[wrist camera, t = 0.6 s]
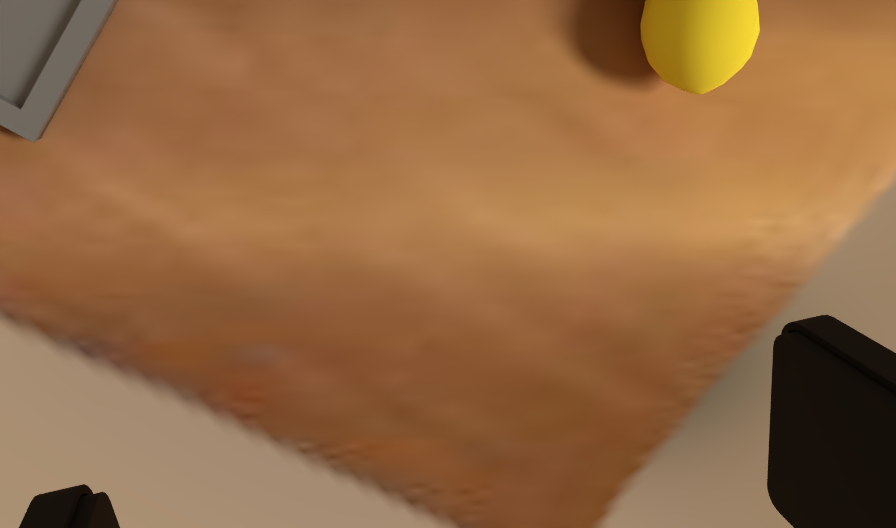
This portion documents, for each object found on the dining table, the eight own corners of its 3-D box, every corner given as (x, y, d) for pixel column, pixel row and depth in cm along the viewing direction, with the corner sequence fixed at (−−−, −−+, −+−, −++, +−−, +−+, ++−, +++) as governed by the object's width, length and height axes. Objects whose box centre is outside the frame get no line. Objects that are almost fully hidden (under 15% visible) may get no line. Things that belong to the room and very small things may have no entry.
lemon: (717, 68, 40) (782, 93, 35) (625, 94, 39) (678, 123, 34) (717, -72, 36) (788, -65, 32) (615, -47, 36) (673, -36, 31)
